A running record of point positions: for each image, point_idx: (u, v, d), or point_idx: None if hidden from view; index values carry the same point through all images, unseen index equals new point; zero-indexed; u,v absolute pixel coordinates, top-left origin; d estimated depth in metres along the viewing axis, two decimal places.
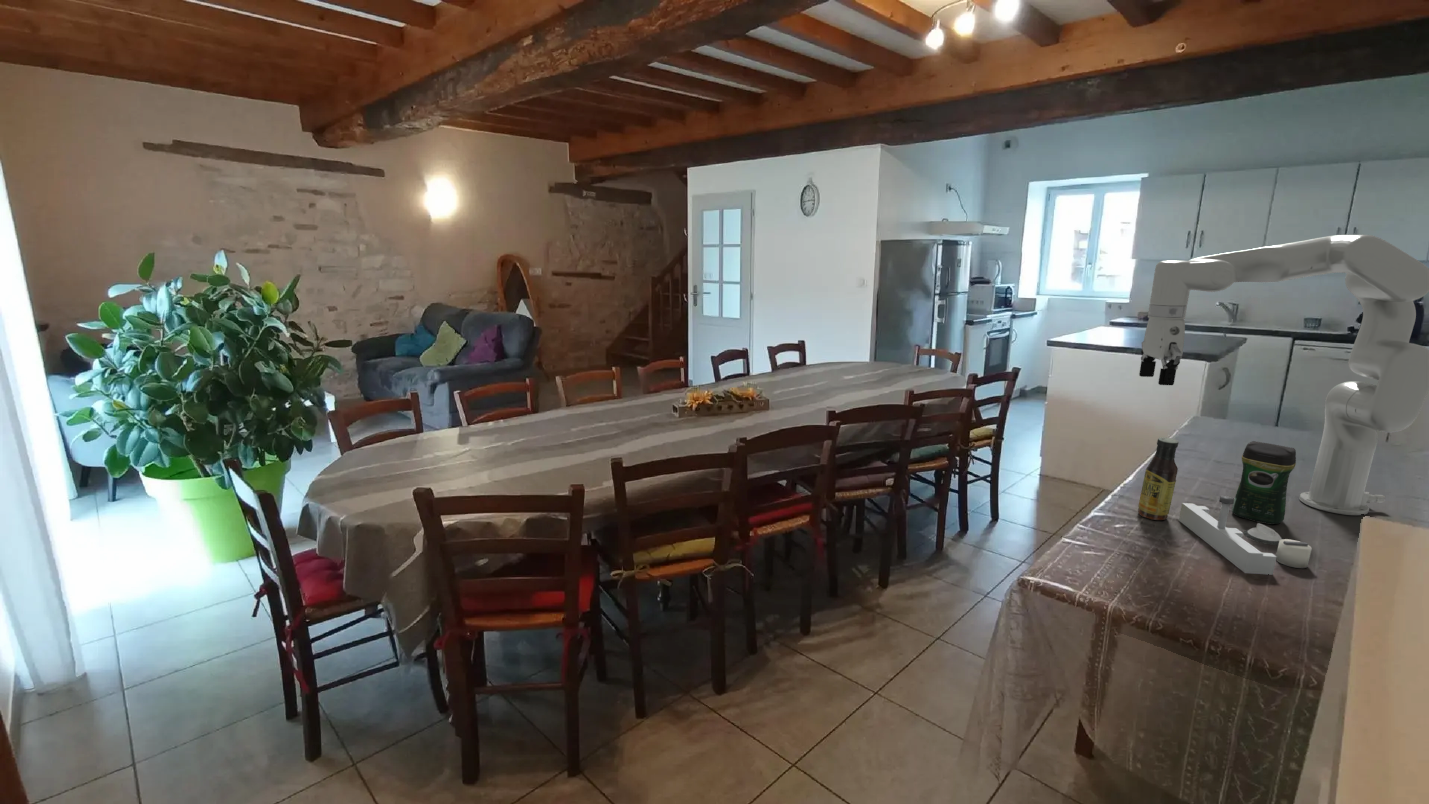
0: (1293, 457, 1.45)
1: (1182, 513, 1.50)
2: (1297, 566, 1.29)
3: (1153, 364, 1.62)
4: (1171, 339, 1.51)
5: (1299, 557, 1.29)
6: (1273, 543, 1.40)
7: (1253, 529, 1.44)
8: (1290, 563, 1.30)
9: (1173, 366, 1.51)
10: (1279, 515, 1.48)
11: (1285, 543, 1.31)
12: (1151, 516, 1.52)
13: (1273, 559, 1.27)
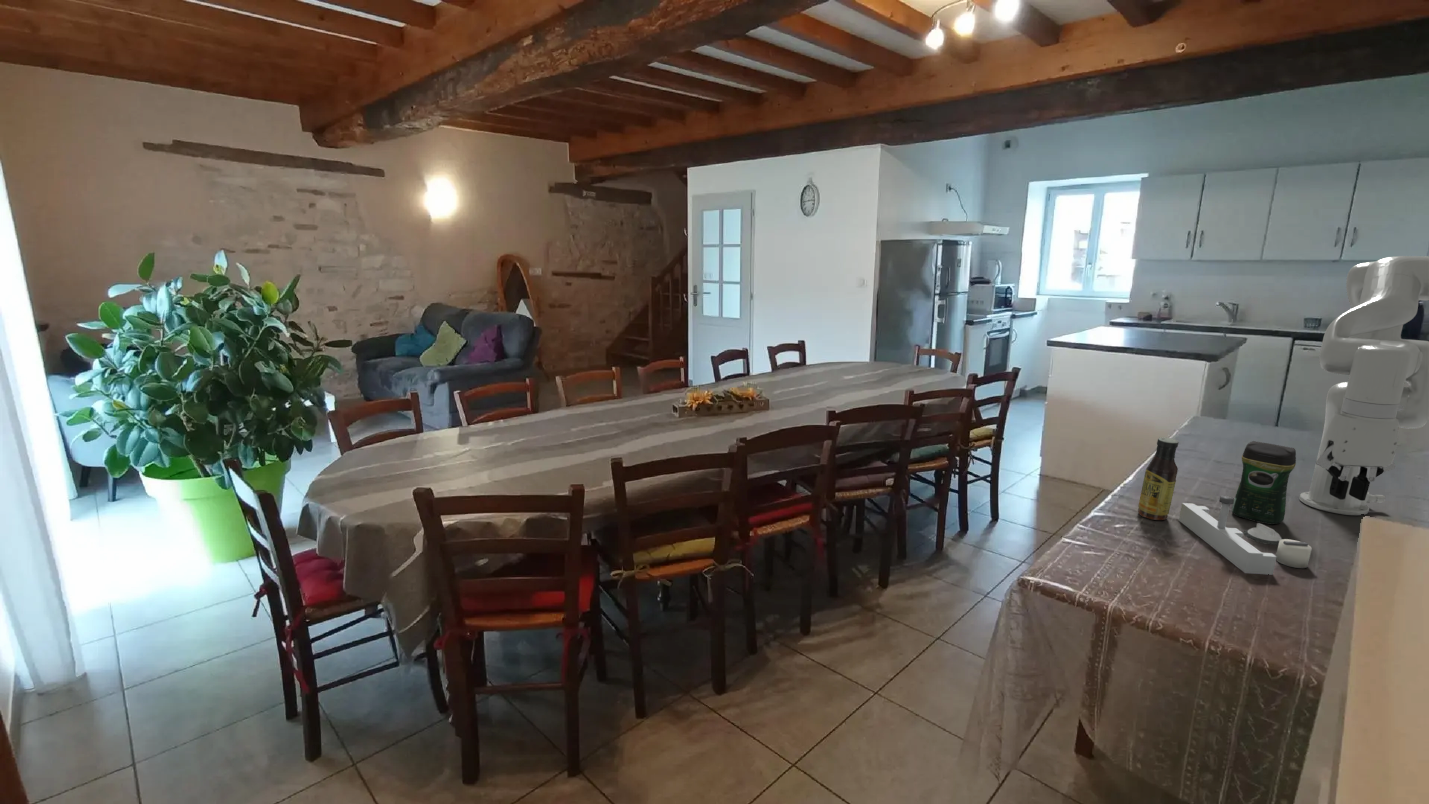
0: (1293, 457, 1.45)
1: (1182, 513, 1.50)
2: (1297, 566, 1.29)
3: None
4: None
5: (1299, 557, 1.29)
6: (1273, 543, 1.40)
7: (1253, 529, 1.44)
8: (1290, 563, 1.30)
9: None
10: (1279, 515, 1.48)
11: (1285, 543, 1.31)
12: (1151, 516, 1.52)
13: (1273, 559, 1.27)
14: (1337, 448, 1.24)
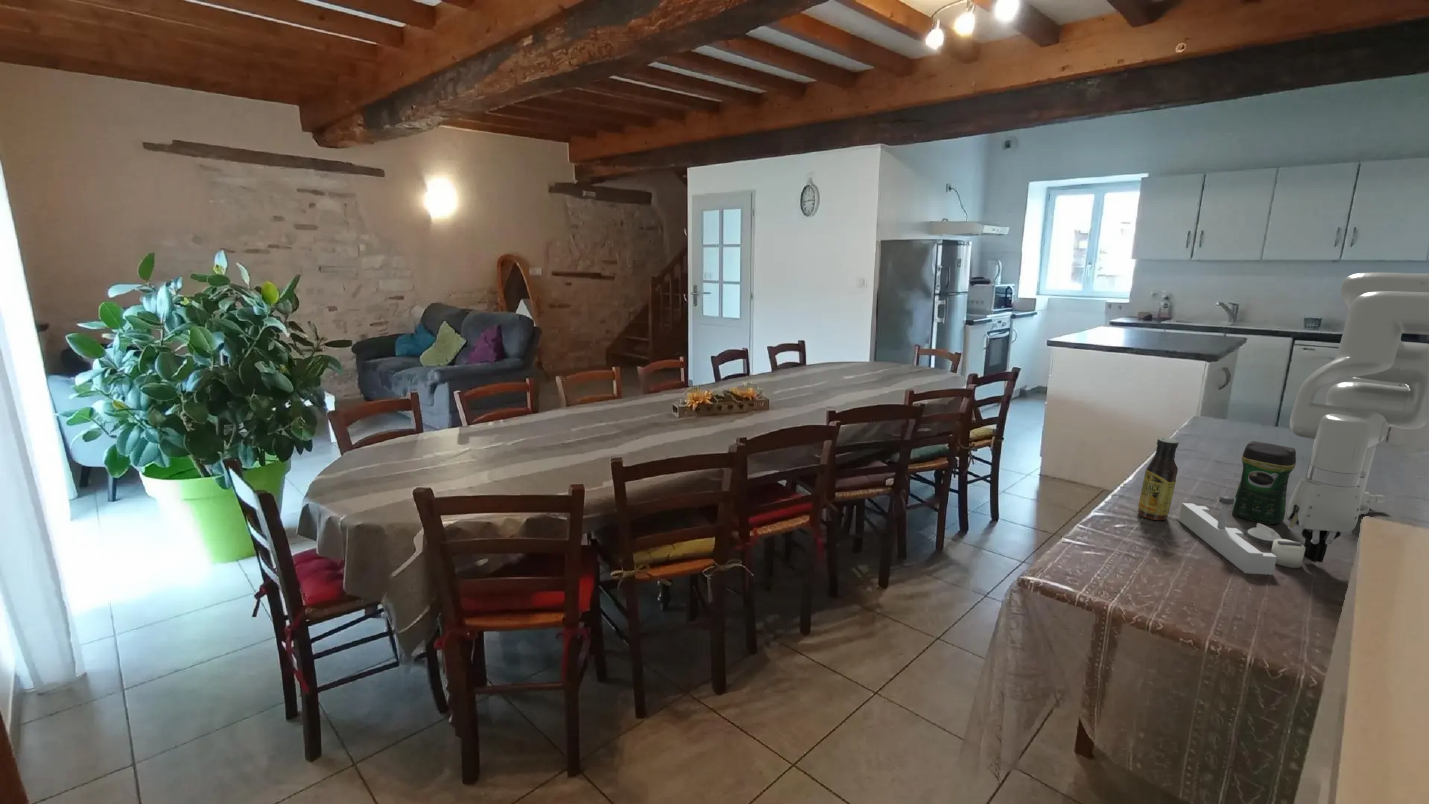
0: (1293, 457, 1.45)
1: (1182, 513, 1.50)
2: (1291, 566, 1.30)
3: None
4: None
5: (1293, 557, 1.29)
6: None
7: (1253, 529, 1.44)
8: (1284, 563, 1.30)
9: None
10: (1279, 515, 1.48)
11: (1279, 543, 1.31)
12: (1151, 516, 1.52)
13: (1273, 559, 1.27)
14: (1302, 513, 1.27)
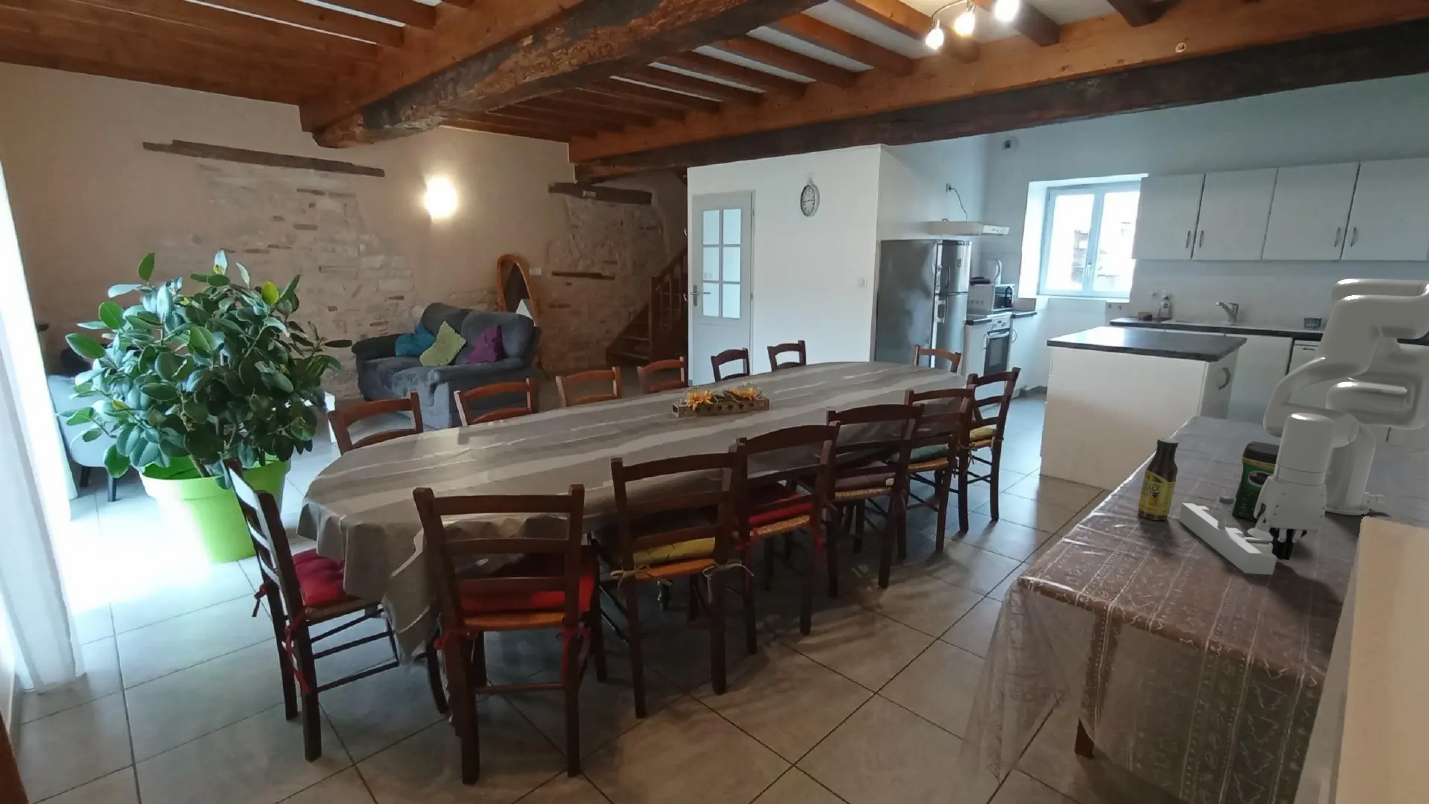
0: None
1: (1182, 513, 1.50)
2: None
3: None
4: None
5: None
6: None
7: (1253, 529, 1.44)
8: None
9: None
10: None
11: (1247, 541, 1.32)
12: (1151, 516, 1.52)
13: (1273, 559, 1.27)
14: (1269, 511, 1.28)
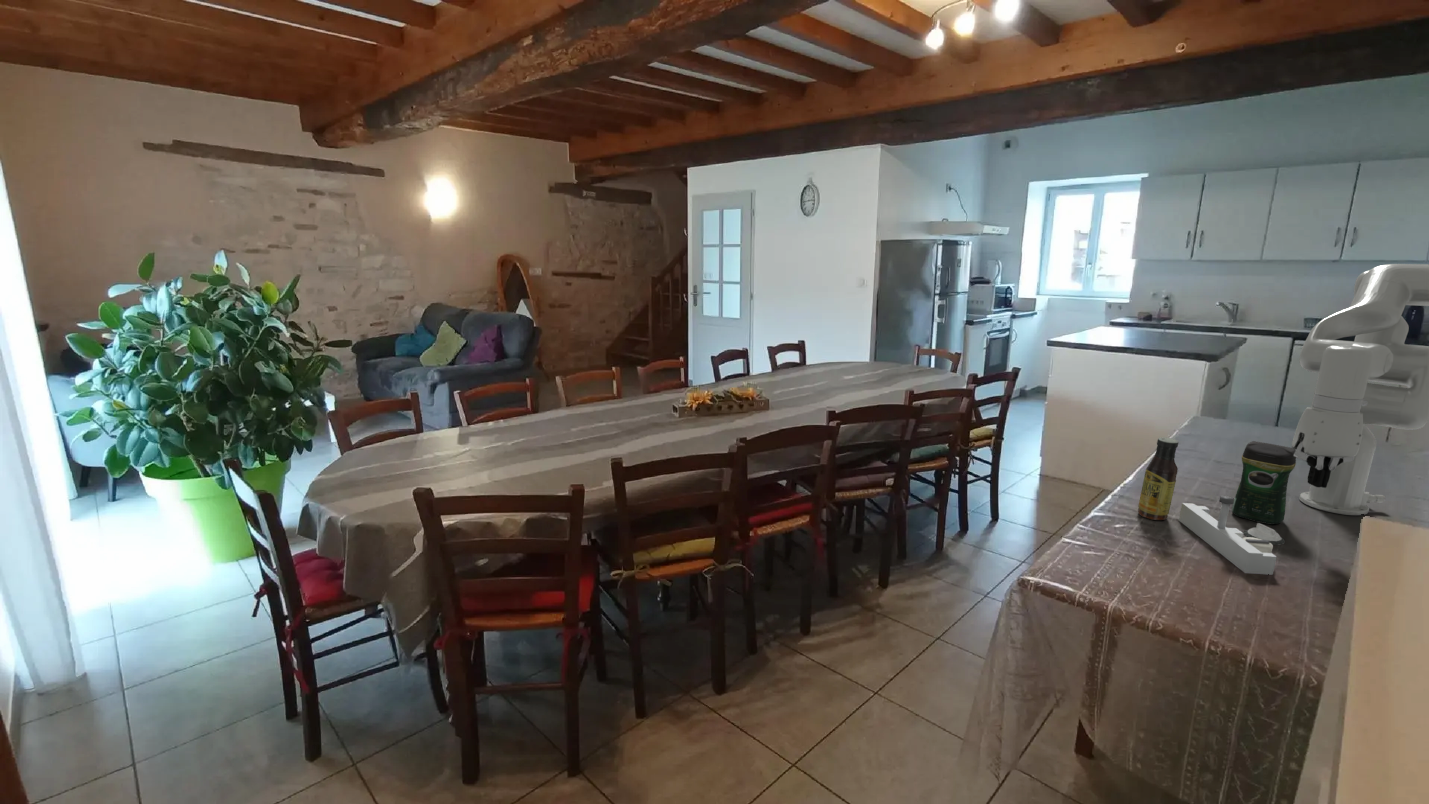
0: (1293, 457, 1.45)
1: (1182, 513, 1.50)
2: None
3: None
4: None
5: None
6: (1274, 543, 1.40)
7: (1253, 529, 1.44)
8: None
9: None
10: (1279, 515, 1.48)
11: (1247, 541, 1.32)
12: (1151, 516, 1.52)
13: (1273, 559, 1.27)
14: (1307, 439, 1.35)
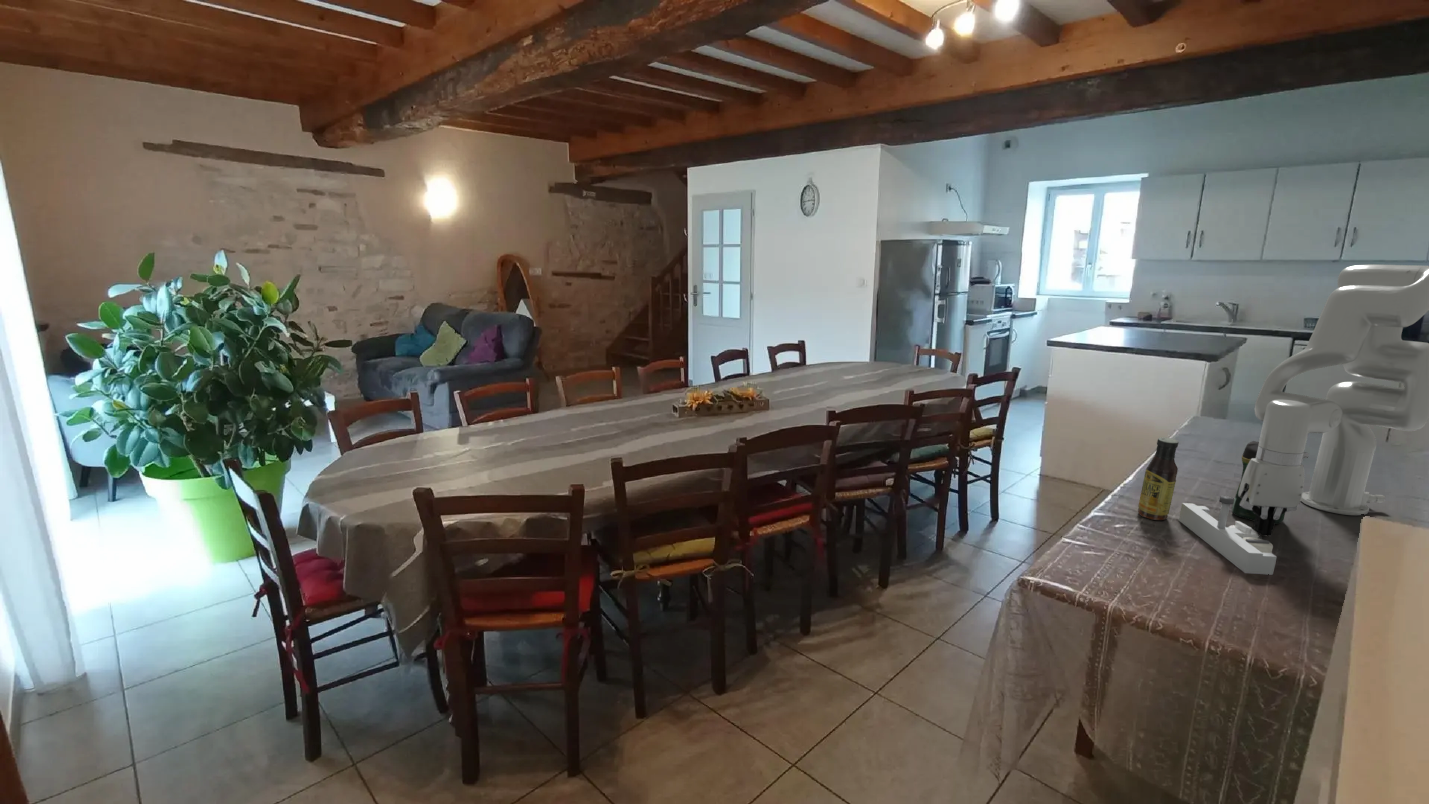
0: None
1: (1182, 513, 1.50)
2: None
3: None
4: None
5: None
6: None
7: (1231, 526, 1.45)
8: None
9: None
10: None
11: (1247, 541, 1.32)
12: (1151, 516, 1.52)
13: (1273, 559, 1.27)
14: (1252, 490, 1.39)
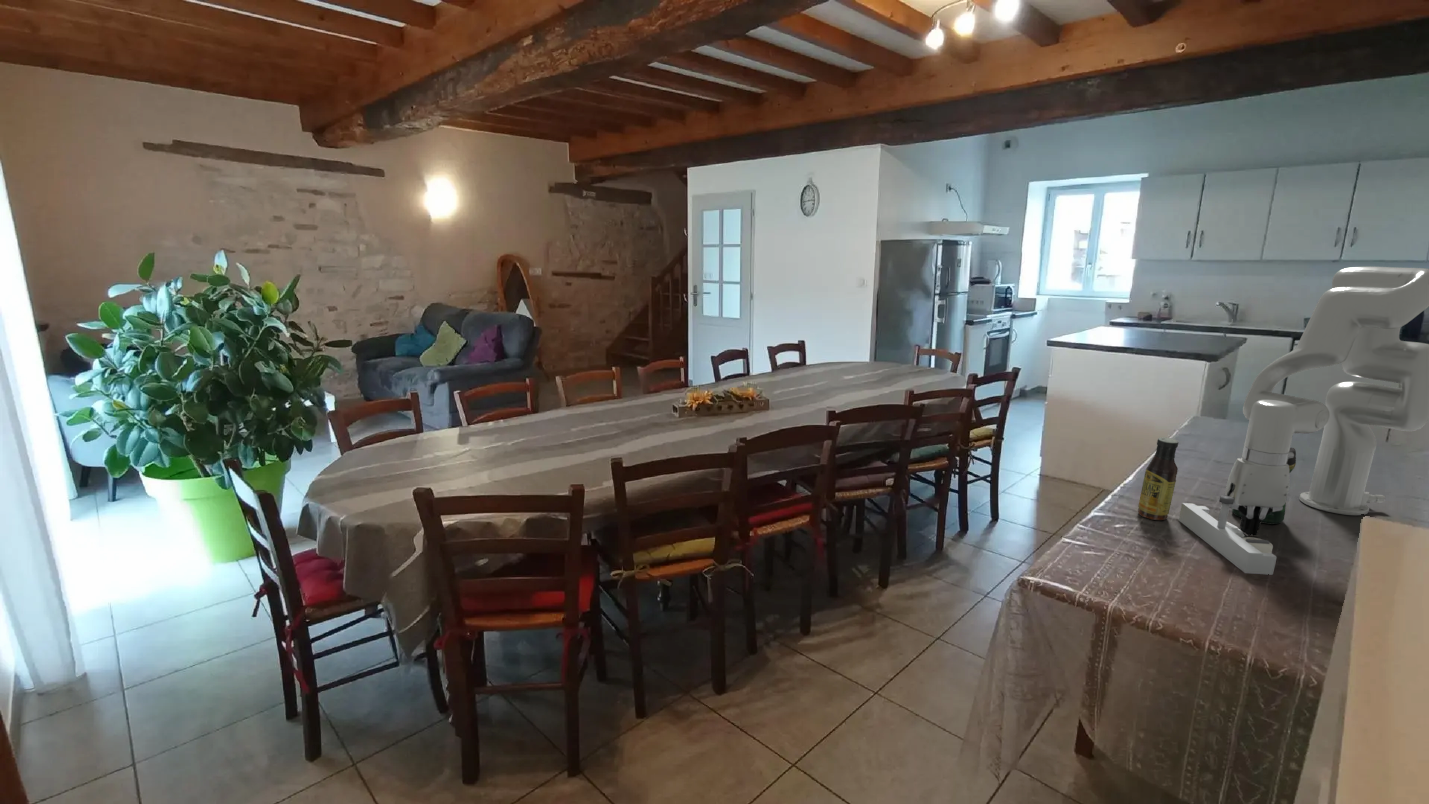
0: (1293, 457, 1.45)
1: (1182, 513, 1.50)
2: None
3: None
4: None
5: None
6: None
7: None
8: None
9: None
10: (1279, 515, 1.48)
11: (1247, 541, 1.32)
12: (1151, 516, 1.52)
13: (1273, 559, 1.27)
14: (1237, 490, 1.40)
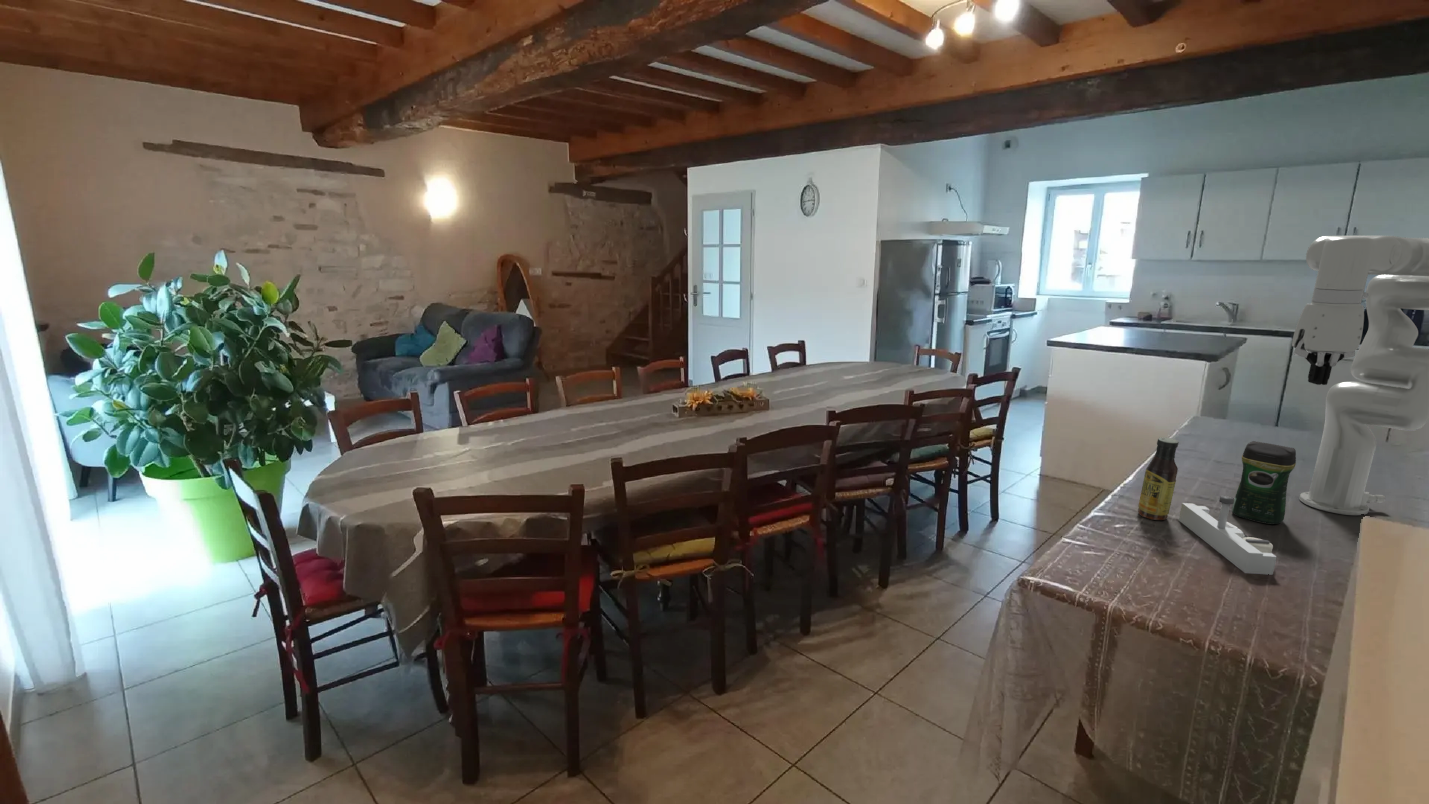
0: (1293, 457, 1.45)
1: (1182, 513, 1.50)
2: None
3: None
4: None
5: None
6: None
7: None
8: None
9: None
10: (1279, 515, 1.48)
11: (1247, 541, 1.32)
12: (1151, 516, 1.52)
13: (1273, 559, 1.27)
14: (1307, 335, 1.33)
